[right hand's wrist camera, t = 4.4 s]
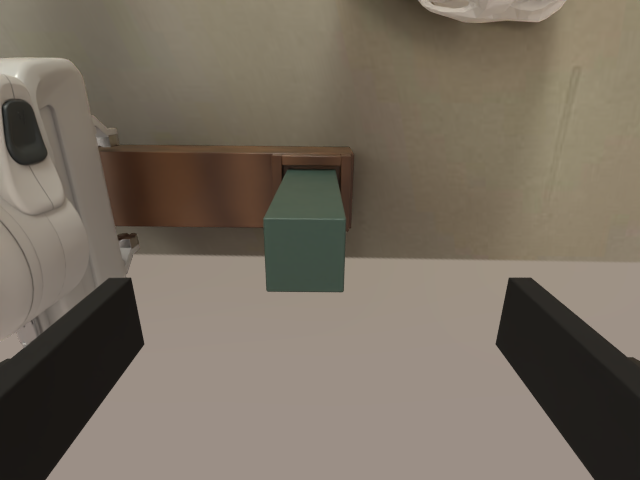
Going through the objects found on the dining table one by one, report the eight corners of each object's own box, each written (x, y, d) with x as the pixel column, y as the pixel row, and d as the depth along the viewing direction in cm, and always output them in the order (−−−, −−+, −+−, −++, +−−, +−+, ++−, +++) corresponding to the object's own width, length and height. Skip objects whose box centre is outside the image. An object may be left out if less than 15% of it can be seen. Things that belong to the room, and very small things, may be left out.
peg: (288, 214, 32) (266, 291, 19) (287, 168, 31) (262, 218, 18) (334, 214, 32) (343, 292, 19) (335, 168, 31) (346, 218, 18)
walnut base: (110, 210, 37) (73, 229, 32) (97, 144, 35) (54, 152, 29) (347, 212, 37) (351, 232, 32) (349, 146, 35) (355, 155, 29)
